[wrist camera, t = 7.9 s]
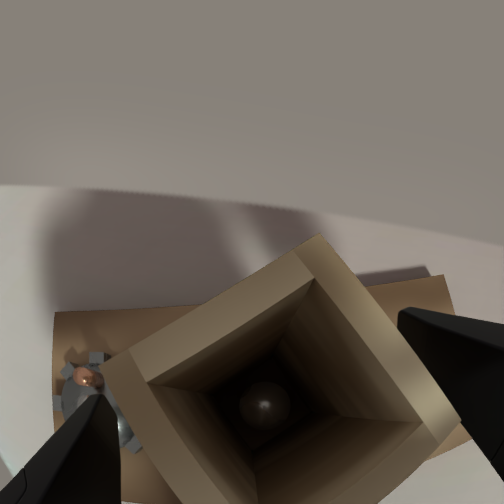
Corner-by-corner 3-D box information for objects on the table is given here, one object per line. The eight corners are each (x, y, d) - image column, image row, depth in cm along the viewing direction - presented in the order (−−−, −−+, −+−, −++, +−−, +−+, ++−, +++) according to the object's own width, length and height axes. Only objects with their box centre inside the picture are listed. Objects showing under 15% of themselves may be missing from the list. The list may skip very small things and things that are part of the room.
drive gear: (162, 462, 13) (146, 473, 10) (65, 451, 12) (38, 455, 10) (153, 354, 15) (136, 345, 13) (61, 353, 15) (34, 343, 13)
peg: (279, 418, 14) (293, 426, 10) (243, 422, 14) (242, 432, 10) (274, 385, 15) (287, 378, 10) (239, 388, 15) (236, 384, 10)
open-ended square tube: (377, 417, 14) (536, 409, 4) (237, 512, 12) (226, 647, 2) (282, 290, 17) (326, 140, 8) (142, 376, 15) (2, 322, 5)
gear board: (464, 436, 14) (475, 436, 13) (71, 486, 12) (62, 489, 11) (434, 281, 19) (443, 274, 18) (64, 317, 17) (54, 311, 16)
